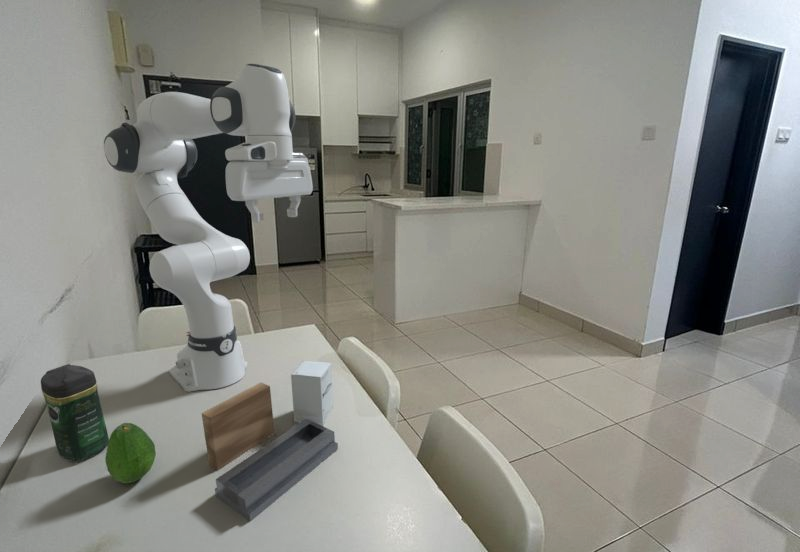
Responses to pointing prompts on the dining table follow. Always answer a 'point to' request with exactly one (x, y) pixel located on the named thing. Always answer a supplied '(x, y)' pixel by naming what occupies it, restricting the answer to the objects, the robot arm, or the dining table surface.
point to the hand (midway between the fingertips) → (276, 219)
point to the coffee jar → (75, 412)
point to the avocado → (129, 453)
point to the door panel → (238, 425)
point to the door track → (275, 468)
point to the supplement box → (312, 391)
